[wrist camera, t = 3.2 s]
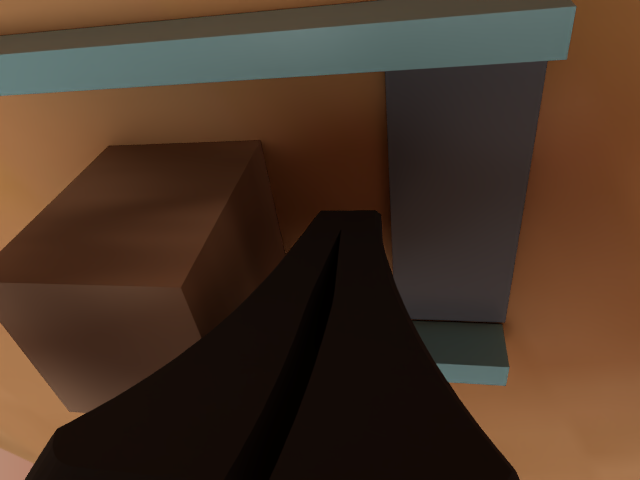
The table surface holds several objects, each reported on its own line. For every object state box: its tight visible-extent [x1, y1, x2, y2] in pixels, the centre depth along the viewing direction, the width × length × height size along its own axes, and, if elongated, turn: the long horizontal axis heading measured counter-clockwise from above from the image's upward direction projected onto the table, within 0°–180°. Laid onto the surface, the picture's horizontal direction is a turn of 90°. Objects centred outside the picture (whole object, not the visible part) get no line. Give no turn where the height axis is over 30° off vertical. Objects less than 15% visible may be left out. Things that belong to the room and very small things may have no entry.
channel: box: [0, 0, 576, 386], centre depth 12 cm, size 12×10×2 cm
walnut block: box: [0, 140, 285, 413], centre depth 11 cm, size 4×4×5 cm
